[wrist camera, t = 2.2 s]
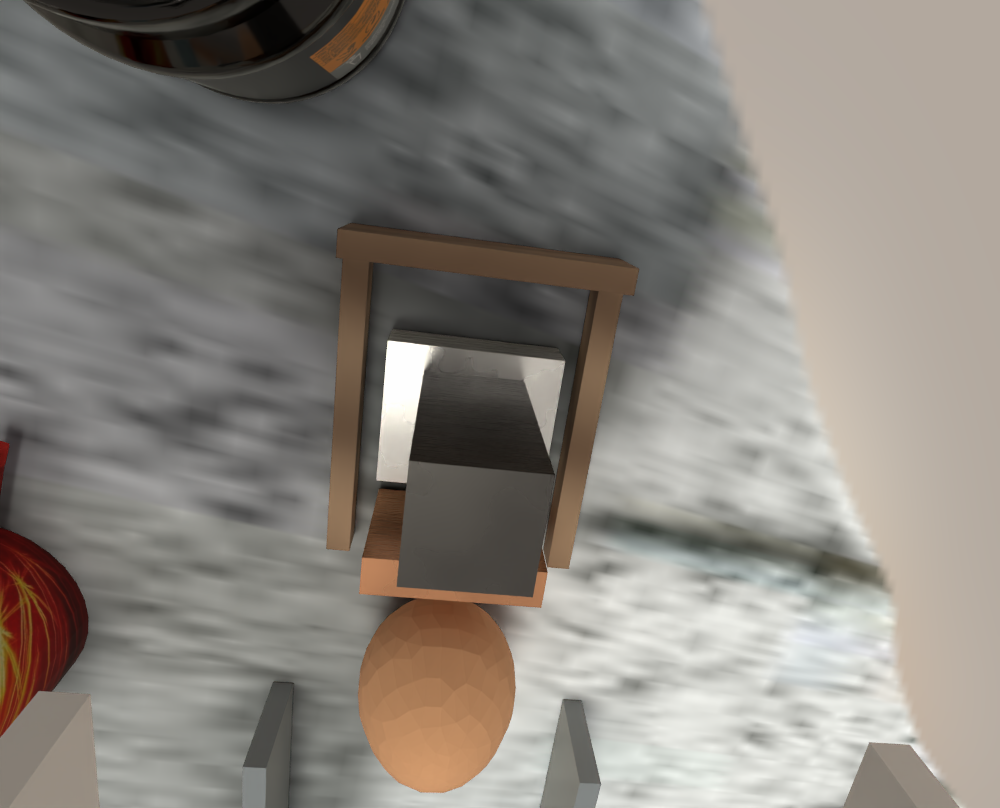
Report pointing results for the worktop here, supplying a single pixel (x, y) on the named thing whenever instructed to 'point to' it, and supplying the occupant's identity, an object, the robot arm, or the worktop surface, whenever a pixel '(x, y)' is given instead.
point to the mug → (34, 620)
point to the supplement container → (234, 40)
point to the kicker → (463, 470)
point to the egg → (436, 693)
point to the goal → (270, 751)
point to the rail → (485, 260)
